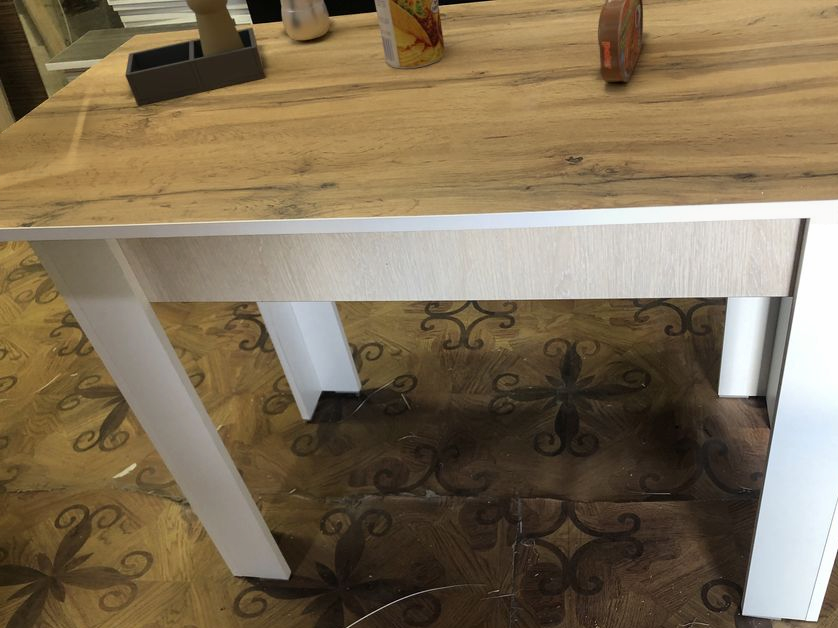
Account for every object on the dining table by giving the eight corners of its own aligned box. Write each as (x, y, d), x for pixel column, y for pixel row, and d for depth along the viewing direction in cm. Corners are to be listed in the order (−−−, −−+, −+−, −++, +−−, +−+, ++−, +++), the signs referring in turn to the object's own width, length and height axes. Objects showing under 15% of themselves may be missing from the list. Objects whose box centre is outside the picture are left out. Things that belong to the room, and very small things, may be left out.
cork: (204, 67, 106) (175, -18, 99) (247, 56, 108) (221, -29, 101) (210, 80, 102) (180, -7, 95) (255, 69, 103) (229, -19, 96)
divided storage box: (137, 106, 101) (125, 75, 98) (140, 83, 107) (128, 53, 104) (265, 77, 103) (256, 46, 100) (260, 56, 109) (252, 27, 107)
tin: (623, 94, 85) (623, 15, 80) (594, 94, 86) (593, 16, 81) (644, 43, 96) (646, -30, 90) (619, 43, 97) (619, -29, 91)
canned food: (456, 54, 101) (443, -45, 93) (405, 73, 98) (387, -28, 90) (424, 41, 106) (410, -55, 98) (375, 59, 103) (356, -38, 95)
